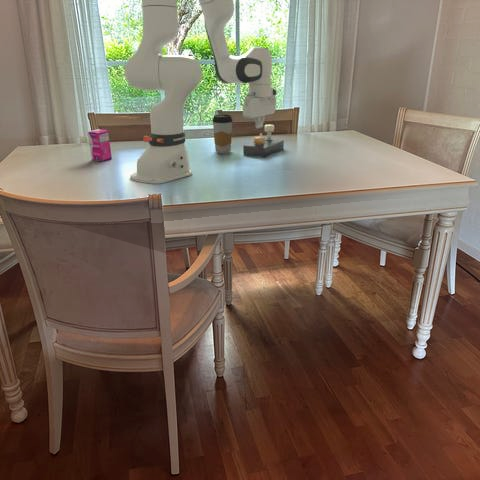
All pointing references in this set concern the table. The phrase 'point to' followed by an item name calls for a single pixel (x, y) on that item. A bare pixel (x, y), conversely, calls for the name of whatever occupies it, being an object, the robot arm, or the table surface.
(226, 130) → the coffee cup
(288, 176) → the table surface
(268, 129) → the knob cream
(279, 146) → the mount
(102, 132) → the supplement box
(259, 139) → the knob orange
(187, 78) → the robot arm
